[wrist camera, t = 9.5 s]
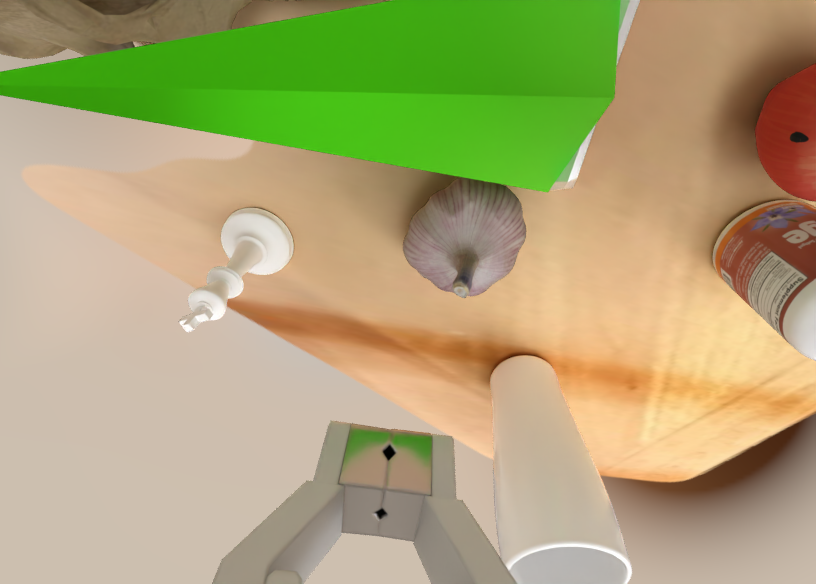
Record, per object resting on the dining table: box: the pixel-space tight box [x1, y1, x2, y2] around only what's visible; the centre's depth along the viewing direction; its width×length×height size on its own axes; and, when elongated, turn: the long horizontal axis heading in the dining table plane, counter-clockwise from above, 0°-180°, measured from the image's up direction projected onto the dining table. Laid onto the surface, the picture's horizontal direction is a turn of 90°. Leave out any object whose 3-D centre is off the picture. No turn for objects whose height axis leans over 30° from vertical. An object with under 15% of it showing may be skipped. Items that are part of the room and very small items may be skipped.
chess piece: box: [179, 208, 294, 332], centre depth 26 cm, size 5×5×10 cm
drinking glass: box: [490, 355, 632, 584], centre depth 29 cm, size 7×7×15 cm
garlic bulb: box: [403, 177, 526, 298], centre depth 25 cm, size 8×7×8 cm
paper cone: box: [0, 0, 640, 192], centre depth 15 cm, size 11×5×25 cm
